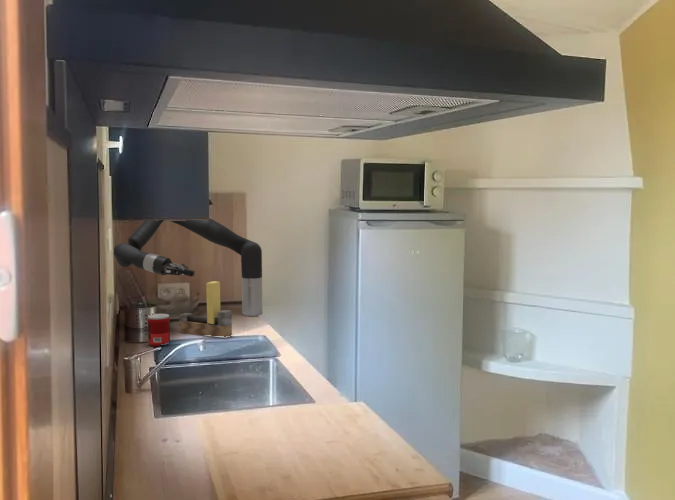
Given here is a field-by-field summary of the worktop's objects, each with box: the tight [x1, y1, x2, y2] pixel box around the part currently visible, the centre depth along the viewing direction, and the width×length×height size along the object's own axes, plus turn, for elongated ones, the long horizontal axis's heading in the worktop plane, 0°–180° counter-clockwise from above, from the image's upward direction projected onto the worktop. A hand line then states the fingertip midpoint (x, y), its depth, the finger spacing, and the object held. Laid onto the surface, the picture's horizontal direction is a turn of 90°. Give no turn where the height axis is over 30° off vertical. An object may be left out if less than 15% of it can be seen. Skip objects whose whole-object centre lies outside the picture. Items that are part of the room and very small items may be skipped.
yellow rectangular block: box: [205, 280, 221, 324], centre depth 263 cm, size 3×5×16 cm, turn 153°
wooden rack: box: [178, 309, 233, 337], centre depth 266 cm, size 23×4×10 cm, turn 63°
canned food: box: [147, 313, 171, 347], centre depth 251 cm, size 8×8×11 cm
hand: (193, 274), depth 268 cm, fingers closed
